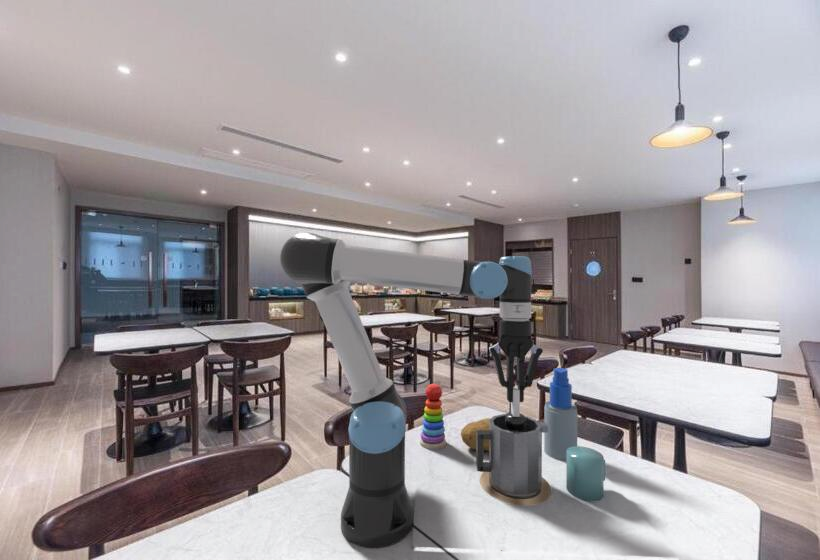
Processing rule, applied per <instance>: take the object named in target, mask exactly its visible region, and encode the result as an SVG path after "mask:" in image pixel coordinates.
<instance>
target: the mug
mask: <svg viewBox="0 0 820 560" xmlns="http://www.w3.org/2000/svg"><path fill="white" fill-rule="evenodd" d="M565 466H566V467H565V468H566V472H565V473H566V474H565V475H566V476H565V477H566V485H565V486H566V491H567V492H568V493H569V494H571V496H573V497H575V498H577V499H579V500H582V501H586V502H599V501H602V500H603V499H604V492H605V491H604V488H605V487H604V486H605V485H604V483H605V481H606V459H605V458H604V455H603V454H602V453H601V452H599V451H598V450H596V449H593V448H591V447H586V446H579V445H577V446H573V447H569V448H568V449H567V461H566V465H565Z"/></svg>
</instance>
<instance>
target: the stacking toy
mask: <svg viewBox="0 0 820 560" xmlns="http://www.w3.org/2000/svg"><path fill="white" fill-rule="evenodd" d="M442 389H443V388H442V387H441V386H440V385H439V384H437V383H431V384H429V385H427V386H426V389H425V395H426V398H427V399H426V401H425V407H424V409H423V411H424V413H423V421H422V425H423V426H422V428H421V432H420V441H419V445H420V446H421V447H422V448H425V449H427V450H440V449H442V448H443V449H444V447H446V444H447V441H446V440H447V439H446V434H445V431H446V429H445V426H444V425H445V421H444V414H443V407H442V404H443V402H442V400H441V399H440V398H442V396H443V390H442Z"/></svg>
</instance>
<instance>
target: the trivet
mask: <svg viewBox="0 0 820 560" xmlns="http://www.w3.org/2000/svg"><path fill="white" fill-rule="evenodd" d="M479 484H480V487H481V488H482V489H483V491H484V492H486V493H487V494H488V495H489V496H490V497H492V498H494V499H495V500H498V501H499V502H503V503H506V504H510V505H514V506H527V507H528V506H537V505H540V504H543V503H544V502H547V501H548V500H549V499H550V498H551V495H552V491H553V490H552V486H551V485H550V483H549V482H548V480H547V479H545V478H544V477H543V476H542V485H541V492H540V494H539V495H537V496H536V497H533V498H530V499H515V498H510V497H507V496H504V495H502V494H500V493H498V492H496V491H495V490H494V489H493V488H492V487H491V486H490V483H489V472H482V474H481V475H480V477H479Z"/></svg>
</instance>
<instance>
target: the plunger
mask: <svg viewBox="0 0 820 560" xmlns="http://www.w3.org/2000/svg"><path fill="white" fill-rule="evenodd" d="M505 414H506V427H507V428H508V429H510V430H513V432H517V431H520V430H523V429H524V416H525V415H524V414H522V413H520V417H513V415H512V413H511V411H510V412H507V413H505Z"/></svg>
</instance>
